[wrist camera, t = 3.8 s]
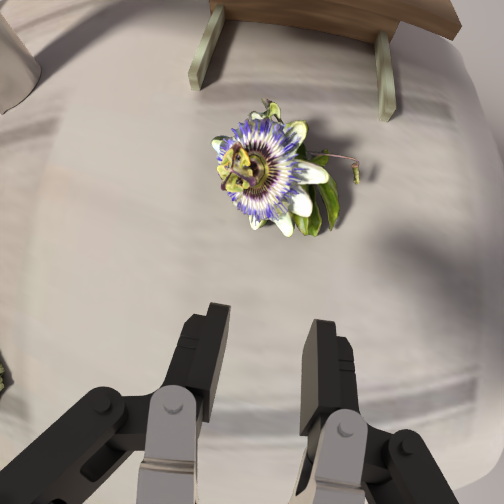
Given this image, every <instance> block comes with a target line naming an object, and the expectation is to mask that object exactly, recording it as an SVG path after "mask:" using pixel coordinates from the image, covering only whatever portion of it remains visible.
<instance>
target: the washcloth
mask: <svg viewBox="0 0 504 504" xmlns="http://www.w3.org/2000/svg"><path fill="white" fill-rule="evenodd" d="M4 372H5V370H4V368H3V367H2V364H1V363H0V391H1V390H2V389H3V388H4V384H3V383H2V381H3V380H2V378H1V376H2V374H3V373H4Z"/></svg>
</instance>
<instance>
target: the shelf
mask: <svg viewBox="0 0 504 504" xmlns="http://www.w3.org/2000/svg"><path fill="white" fill-rule="evenodd" d="M209 3H210V11H211V18H210V20H209V23H208V25H207V27H206V30H205V32H204V34H203V37H202V39H201V42H200V44H199V46H198V49H197V51H196V54H195V56H194V59H193V61H192V64H191V67H190V69H189V72H188V77H189V81H190V85H191V89H192V90H200V89H201V86H202V83H203V80H204V77H205V74H206V71H207V68H208V65H209V62H210V60H211V57H212V54H213V51H214V48H215V46H216V43H217V40H218V38H219V35H220V32H221V30H222V27H223V25H224V22H225V20H237V21H250V22H260V23H270V24H278V25H285V26H292V27H298V28H304V29H310V30H315V31H321V32H326V33H331V34H335V35H340V36H344V37H348V38H352V39H356V40H360V41H364V42H368V43H371V44H374V47H375V57H376V69H377V82H378V99H379V120H381V121H384V122H388V120H389V119H390V117H391V116H392V114H393V113H394V111H395V110H396V99H395V88H394V79H393V70H392V62H391V55H390V48H389V44H390V41H391V39H392V37H393V35H394V33H395V31H396V29H397V27H398V24H399V22H400V21H403V22H406V23H409V24H412V25H415V26H417V27H420V28H423V29H425V30H428V31H430V32H433V33H435V34H438V35H440V36H442V37H445V38H447V39H449V40H452V41H453V39H454V38H455V36H456V35H457V33H458V32H459V30H460V29H461V27H462V25H461V23H460V21H459V18H458V16H457V14H456V12H455V10H454V8H453V6H452V3H451V1H450V0H209Z"/></svg>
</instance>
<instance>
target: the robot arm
mask: <svg viewBox="0 0 504 504" xmlns="http://www.w3.org/2000/svg"><path fill="white" fill-rule="evenodd" d="M40 74H41V67H40V65H39V64H38V63H37V61H36V60H35V58H34V57H33V56H32V55H31V53H30V52H29V51H28V49H27V48H26V47H25V45H24V44H23V43H22V41H21V40H20V39H19V37H18V36H17V35H16V33H15V32H14V31H13V29H12V28H11V27H10V25H9V24H8V22H7V21H6V20H5V18H4V17H3V16H2V14H1V13H0V114H3V113H4V112H5V111H6V110H8V109H10V108H12V107H14V106H16V105H17V104H18V103H20V102H21V101H22V100H23V99H24V98H25V97H27V95H28V94H29V93H30V92H31V91H32V90H33V88H34V87H35V85H36V84H37V82H38V80H39V77H40ZM230 308H231V306H229V305H224V304H218V303H212V302H211V303H210V305H209V308H208V311H207V315H206V316H203V315H198V314H193V315H192V316H191V317H190V318H189V319H188V320H187V321H186V322H185V323H184V326H183V329H182V332H181V334H180V337H179V340H178V343H177V347H176V349H175V351H174V354H173V357H172V360H171V363H170V366H169V369H168V372H167V375H166V377H165V380H164V382H163V384H162V386H161V387H160V388H159V389H158V390H156V391H155V392H153V393H151V394H148V395H144V396H121V394H120V393H119V392H118V391H116V390H115V389H113V388H110V387H97V388H94V389H92V390H90V391H89V392H88V393H87V394H86V395H85V396H83V397H82V398H81V399H80V400H79V401H78V402H77V403H76V404H74V405H73V406H72V407H71V408H70V409H69V410H68V411H67V412H66V413H64V414H63V415H62V416H61V417H60V418H59V419H58V420H57V421H56V422H54V423H53V424H52V425H51V426H50V427H49V428H48V429H47V430H46V431H44V432H43V433H42V434H41V435H40V436H39V437H38V438H37V439H36V440H34V441H33V442H32V443H31V444H30V445H29V446H28V447H27V448H26V449H24V450H23V451H22V452H21V453H20V454H19V455H18V456H17V457H16V458H14V459H13V460H12V461H11V462H10V463H9V464H8V465H7V466H6V467H4V468H3V469H2V470H1V471H0V504H82V503H83V502H84V501H85V500H86V499H87V498H89V497H90V496H91V495H92V494H93V493H94V492H95V491H96V490H97V489H98V488H99V487H100V486H101V485H102V484H103V483H104V482H105V481H106V480H107V479H108V478H109V477H110V476H111V474H112V473H113V472H114V471H115V470H116V469H117V468H118V467H119V466H120V465H121V464H122V463H123V462H124V461H125V460H126V459H127V458H128V457H129V456H130V455H131V454H132V453H133V452H134V451H145V454H144V459H143V461H142V462H141V464H140V467H139V474H138V486H137V501H136V504H198V438H199V434H200V430H201V426H202V421H203V422H208V423H209V421H210V416H211V412H212V407H213V403H214V398H215V393H216V389H217V384H218V380H219V375H220V371H221V366H222V362H223V357H224V353H225V348H226V343H227V337H228V328H229V318H230ZM300 436H308V446H307V447H306V449H305V451H304V454H303V457H302V461H301V465H300V469H299V473H298V476H297V480H296V483H295V487H294V490H293V494H292V496H291V499H290V501H289V502H288V504H364V502H365V497H366V499H367V502H368V504H459V503H458V501H457V499H456V497H455V496H454V494H453V492H452V490H451V488H450V486H449V485H448V483H447V481H446V479H445V477H444V476H443V474H442V472H441V470H440V469H439V467H438V465H437V463H436V462H435V460H434V458H433V456H432V455H431V453H430V451H429V449H428V448H427V446H426V444H425V443H424V441H423V439H422V438H421V436H420V435H419V434H418V433H416V432H414V431H412V430H408V429H403V430H399V431H397V432H396V433H395V434H391V433H388V432H385V431H382V430H379V429H376V428H374V427H372V426H370V425H369V424H367V423H366V421H365V419H364V418H363V417H362V416H361V414H360V411H359V406H358V395H357V384H356V374H355V365H354V357H353V349H352V347H351V345H350V343H349V342H348V340H347V338H346V337H339V336H336V325H335V322H334V321H326V320H319V319H314V321H313V323H312V326H311V329H310V331H309V334H308V337H307V339H306V342H305V345H304V349H303V354H302V380H301V413H300Z"/></svg>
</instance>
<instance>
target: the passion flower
mask: <svg viewBox="0 0 504 504" xmlns="http://www.w3.org/2000/svg"><path fill="white" fill-rule="evenodd" d="M261 100H262V102H263V104H264V105H265V108H266V109H267V111H265V112H264V113H258V112H256V111H253V112H251V113H250V114H249V115H248V117H247V119H246V120H245V123H240V122H239V123H238V124H239V129H236V130H235V129H233V128H232V129H231V130H232V131H233V132H234V134H235V136H233V137H230V138H229V137H227V136H217V137H215V138H214V139H213V140H212V141H211V145H212V147H213V148H214V149H215V150H216V151H217V152H218V153H219V154H218V155H217V160H218V162H219V166H218V167H217V170H218V172H219V176H220V178H221V179H222V180H224V181H223V182H222V183H221V189H222V190H226V191H228V193H227V195H228V196H230V197H231V198H232V201H233V204H234V205H235V206H236V207H238V210H241V211H242V212H243V214H248V215H249V221H250V225H251V227H252V229H254V230H257V229H259V228H261V227H263V226H264V225H265V224H266V222H267V221H268V220H271V221H273V222H274V223H275V224H276V226H277V227H278V228H279V229H280V230H281V232H282V233H283V234H284V235H285V236H286V237H291V235H292V233H293V230H294V228H295V223H296V225H297V228H298V229H299V230H300V232H302V233H303V234H304V236H306V235H313V236H314V237H316V236H317V235H318V232H319V231H320V229H321V224H322V217H321V215H320V211H319V206H318V205H317V203H316V192H317V190H319V193H320V195H321V197H322V200H323V202H324V204H325V206H326V210H327V216H328V221H329V224H330V227H329V229H330V231H332V228H333V226H334V224H335V222H336V220H337V217H338V216H339V211H340V206H339V202H338V194H337V186H336V182H335V181H334V180H333V179H332V177H331V176H330V175H329V173H328V172H327V171H326V169H324V168H323V167H322V166H325V164H326V163H327V162H328V159H329V156H333V157H342V158H347V159H352V160H354V161H356V163H354V164H352V165H351V167H352V168H353V172H354V180H353V182H354V183H356V184H359V183H360V171H359V169H358V167H359V161H357V160H356V159H354V158H351V157H346V156H342V155H335V154H329V152H328V150H327V149H325V150H322V151H320V152H308V151H306V148H305V145H304V142H303V141H304V139H305V138H306V135H307V132H308V129H309V128H308V125H307V123H306V120H296V121H293V122H291V123H287V124H284V123H283V122H282V120H281V118H280V117H281V109H280V108H279V106H278V105H277V104H276V103H275V102H272V101H268V99H265V98H263V99H261ZM272 115H274V116H275V117H276V118H277V120H278V122H273V120H272V119H271V116H272ZM308 154H311V155H312V157H311V158H310V159H307V155H308Z"/></svg>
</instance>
